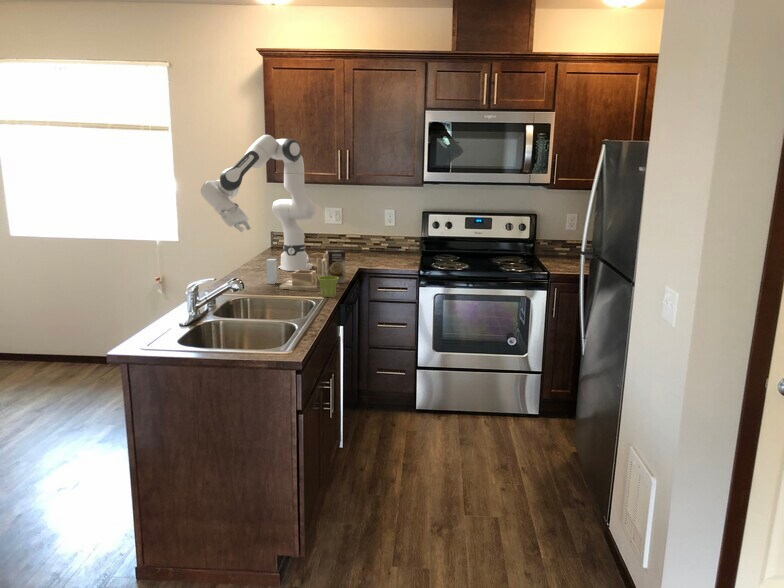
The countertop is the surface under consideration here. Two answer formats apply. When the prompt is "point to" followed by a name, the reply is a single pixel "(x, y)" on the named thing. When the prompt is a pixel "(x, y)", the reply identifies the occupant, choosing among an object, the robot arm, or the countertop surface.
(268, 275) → the block
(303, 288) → the caddy
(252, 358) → the countertop surface
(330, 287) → the plant pot
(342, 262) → the coffee box
